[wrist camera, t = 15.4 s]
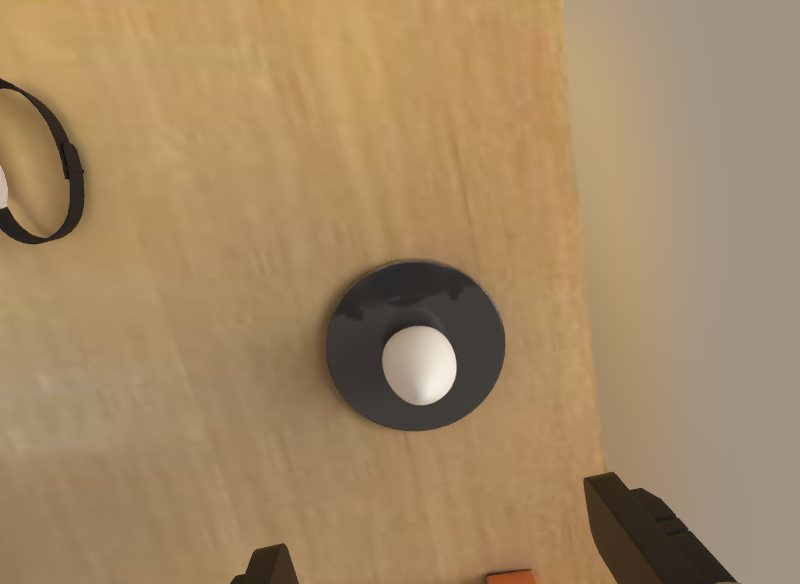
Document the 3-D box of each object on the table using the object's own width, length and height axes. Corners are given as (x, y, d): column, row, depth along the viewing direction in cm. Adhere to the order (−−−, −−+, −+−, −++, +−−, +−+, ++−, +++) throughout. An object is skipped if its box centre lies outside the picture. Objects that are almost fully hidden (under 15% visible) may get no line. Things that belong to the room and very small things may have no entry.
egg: (457, 372, 26) (476, 419, 20) (393, 390, 26) (394, 441, 20) (440, 310, 25) (455, 342, 20) (374, 328, 25) (370, 366, 20)
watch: (-32, 96, 23) (-111, 78, 19) (59, 76, 22) (-2, 53, 19) (27, 248, 24) (-35, 257, 21) (112, 230, 24) (65, 236, 21)
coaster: (321, 420, 27) (320, 425, 26) (332, 250, 25) (331, 251, 24) (490, 432, 27) (492, 437, 27) (515, 267, 25) (518, 269, 24)
